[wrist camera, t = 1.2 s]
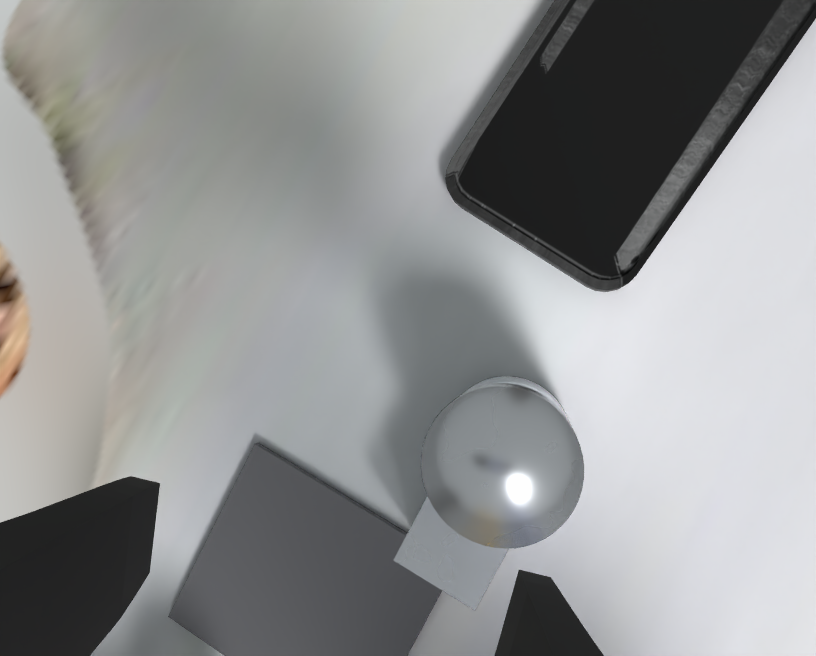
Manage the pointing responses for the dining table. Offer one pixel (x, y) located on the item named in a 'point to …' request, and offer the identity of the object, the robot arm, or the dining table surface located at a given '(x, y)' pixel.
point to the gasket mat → (301, 572)
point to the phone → (617, 124)
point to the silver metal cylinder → (491, 484)
